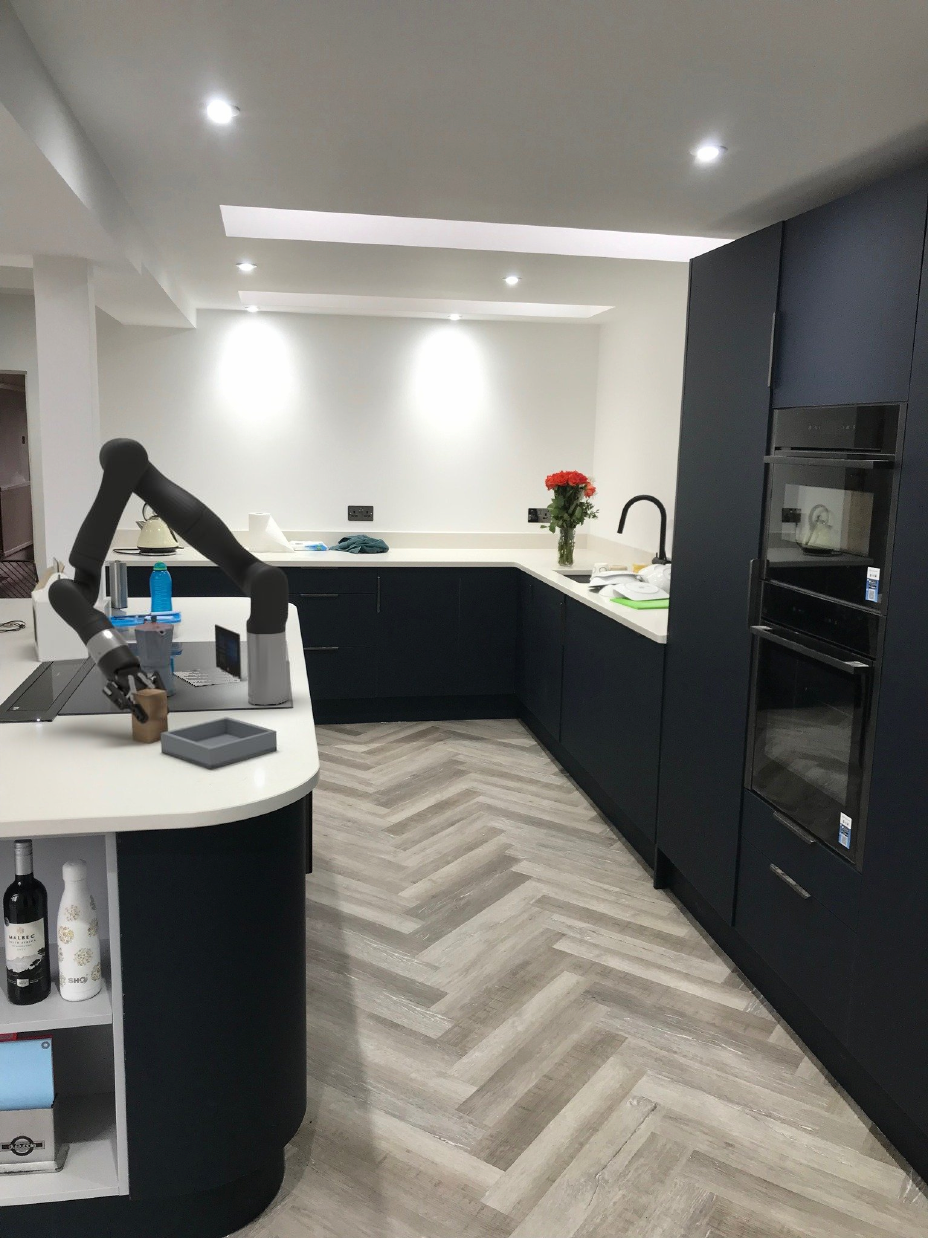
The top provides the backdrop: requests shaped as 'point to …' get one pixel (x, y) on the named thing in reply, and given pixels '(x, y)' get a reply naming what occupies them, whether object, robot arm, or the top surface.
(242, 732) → the box
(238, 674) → the laptop
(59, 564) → the gable box
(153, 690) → the walnut block
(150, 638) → the moka pot
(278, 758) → the top surface
